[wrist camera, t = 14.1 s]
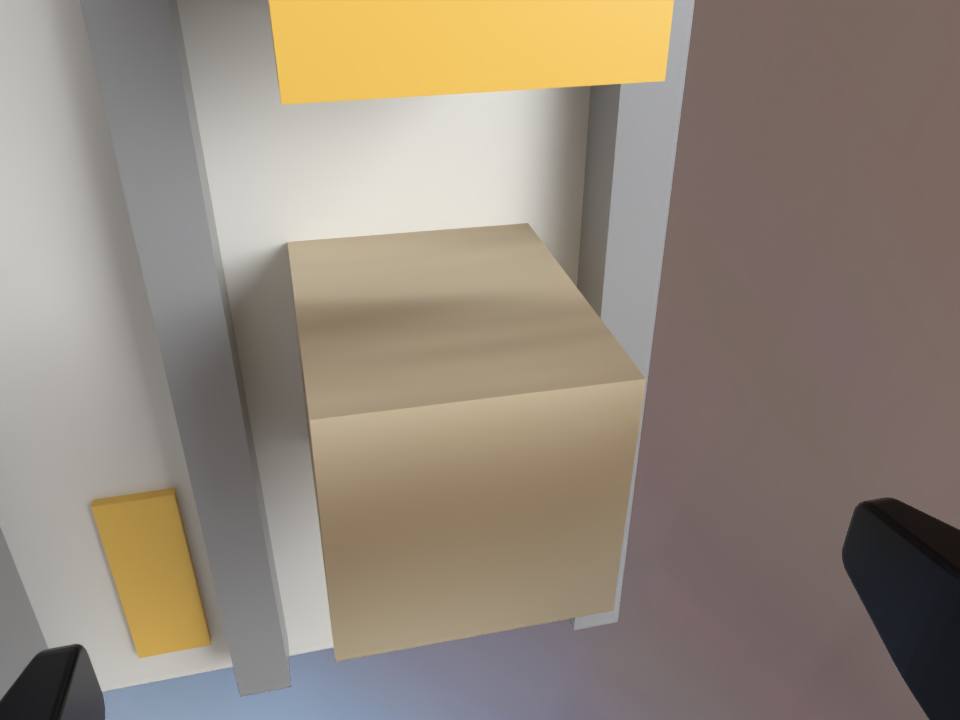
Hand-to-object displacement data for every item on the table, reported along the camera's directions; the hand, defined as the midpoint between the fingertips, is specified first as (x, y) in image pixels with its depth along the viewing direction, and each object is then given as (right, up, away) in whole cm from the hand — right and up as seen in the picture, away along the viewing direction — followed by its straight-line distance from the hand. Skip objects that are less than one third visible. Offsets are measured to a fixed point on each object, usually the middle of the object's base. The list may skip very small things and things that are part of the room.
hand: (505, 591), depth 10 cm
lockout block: (-1, +3, +5) cm, 6 cm away
